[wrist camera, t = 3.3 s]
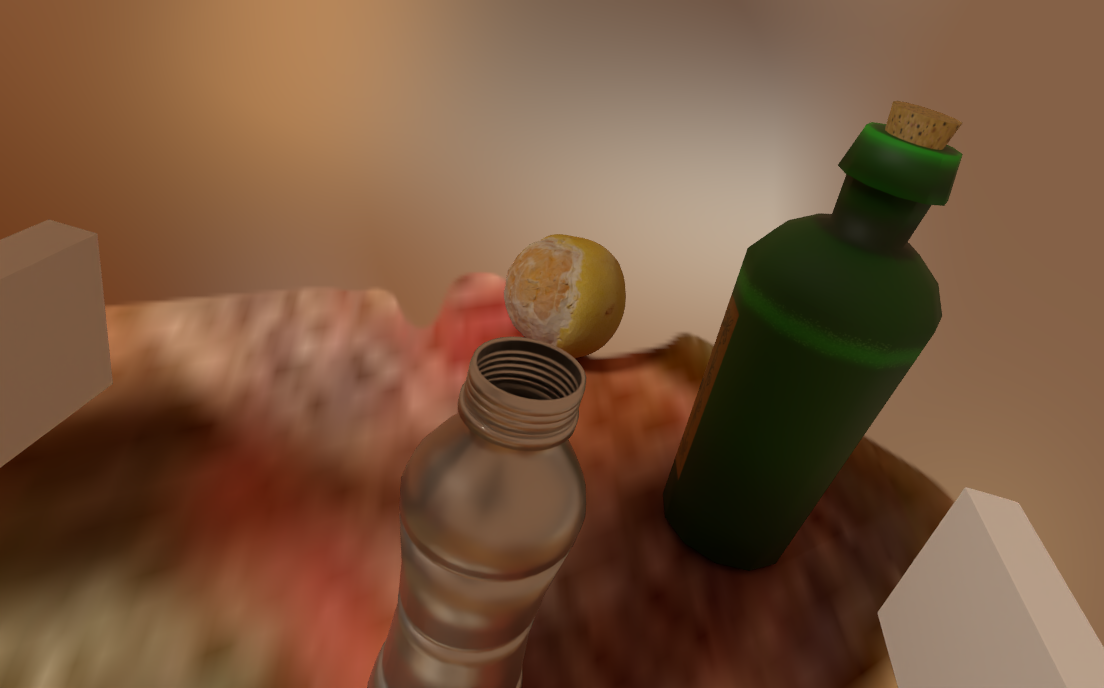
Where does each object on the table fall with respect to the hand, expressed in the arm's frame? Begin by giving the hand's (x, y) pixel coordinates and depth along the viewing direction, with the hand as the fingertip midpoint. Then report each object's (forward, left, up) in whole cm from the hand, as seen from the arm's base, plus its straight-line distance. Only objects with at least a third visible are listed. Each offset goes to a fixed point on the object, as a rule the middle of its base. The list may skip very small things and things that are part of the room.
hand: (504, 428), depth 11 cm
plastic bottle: (-1, +10, -26) cm, 28 cm away
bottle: (+13, +29, -26) cm, 41 cm away
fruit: (-2, +45, -26) cm, 52 cm away
